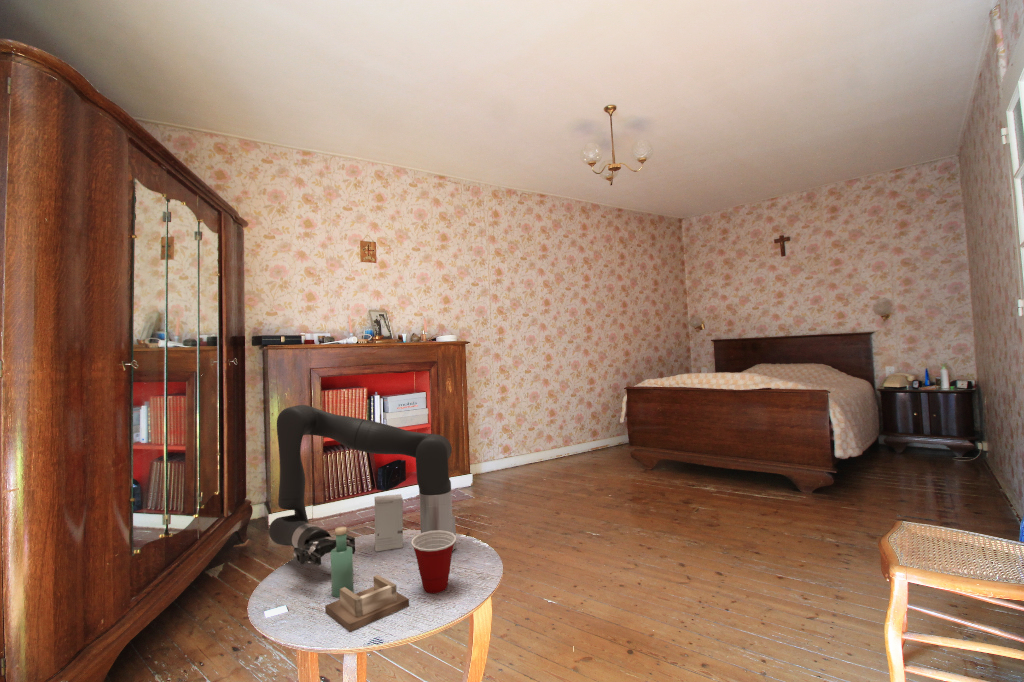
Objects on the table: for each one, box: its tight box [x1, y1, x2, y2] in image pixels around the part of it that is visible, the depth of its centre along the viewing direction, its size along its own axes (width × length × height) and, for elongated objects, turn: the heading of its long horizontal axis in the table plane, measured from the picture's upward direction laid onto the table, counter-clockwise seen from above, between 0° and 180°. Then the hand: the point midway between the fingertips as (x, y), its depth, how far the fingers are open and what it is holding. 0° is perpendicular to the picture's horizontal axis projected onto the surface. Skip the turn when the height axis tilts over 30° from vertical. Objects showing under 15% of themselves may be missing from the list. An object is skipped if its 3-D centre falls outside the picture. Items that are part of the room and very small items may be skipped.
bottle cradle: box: [324, 574, 410, 632], centre depth 108 cm, size 14×12×5 cm
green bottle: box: [330, 526, 355, 598], centre depth 118 cm, size 5×5×15 cm
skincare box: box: [374, 494, 404, 553], centre depth 146 cm, size 8×6×15 cm
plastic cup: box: [411, 530, 457, 594], centre depth 117 cm, size 11×11×12 cm
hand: (336, 555), depth 120 cm, fingers open, 8 cm apart
